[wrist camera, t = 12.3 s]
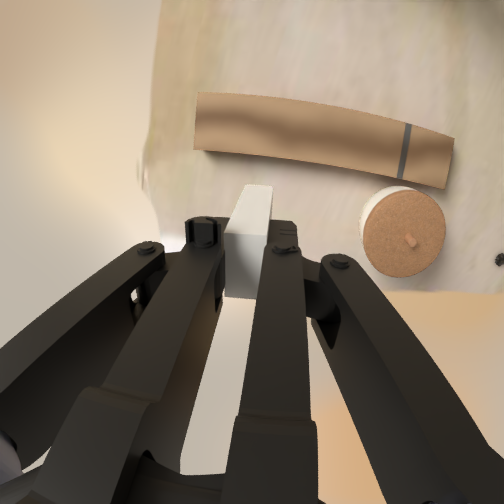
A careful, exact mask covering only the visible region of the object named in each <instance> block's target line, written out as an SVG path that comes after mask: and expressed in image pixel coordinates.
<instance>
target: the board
mask: <svg viewBox="0 0 504 504" xmlns="http://www.w3.org/2000/svg"><path fill="white" fill-rule="evenodd" d="M454 139H455V138H452V137H449V136H446V135H443V134H440V133H437V132H434V131H431V130H428V129H425V128H422V127H418V126H415V125H412V124H408V123H405V122H401V121H397V120H393V119H390V118H386V117H382V116H378V115H373V114H369V113H365V112H360V111H356V110H351V109H346V108H341V107H336V106H330V105H325V104H319V103H313V102H306V101H299V100H292V99H285V98H276V97H267V96H257V95H245V94H231V93H211V92H198V96H197V107H196V120H195V134H194V150H208V151H221V152H233V153H243V154H253V155H262V156H270V157H278V158H286V159H293V160H300V161H307V162H314V163H320V164H326V165H332V166H338V167H344V168H350V169H355V170H360V171H365V172H370V173H375V174H380V175H385V176H390V177H394V178H398V179H403V180H407V181H412V182H416V183H420V184H424V185H428V186H432V187H436V188H440V189H445V184H446V180H447V175H448V171H449V166H450V161H451V156H452V150H453V145H454Z"/></svg>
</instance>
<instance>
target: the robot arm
mask: <svg viewBox="0 0 504 504" xmlns="http://www.w3.org/2000/svg"><path fill="white" fill-rule="evenodd" d="M272 200H273V186H266V185H249V184H246V185H245V187H244V189H243V191H242V193H241V196H240V198H239V200H238V202H237V204H236V207H235V209H234V211H233V213H232V215H231V218H225V217H208V216H200V217H194V218H191V219H188V220H187V221H186V222H185V232H186V244H185V246H184V247H183V249H182V250H181V251H180V252H172V253H165V250H164V246H163V245H162V244H161V243H158V242H152V241H148V242H147V241H145V242H142V243H139V244H137V245H135V246H133V247H131V248H130V249H129V250H127V251H126V252H124V253H123V254H121V255H120V256H118V257H117V258H116V259H114V260H113V261H111V262H110V263H109V264H108V265H106V266H104V267H103V268H102V269H100V270H99V271H98V272H96V273H95V274H93V275H92V276H91V277H89V278H88V279H87V280H85V281H84V282H83V283H81V284H80V285H79V286H77V287H76V288H75V289H73V290H72V291H71V292H69V293H68V294H67V295H65V296H64V297H63V298H62V299H60V300H59V301H58V302H56V303H55V304H54V305H53V306H51V307H50V308H49V309H47V310H46V311H45V312H44V313H42V314H41V315H40V316H39V317H37V318H36V319H35V320H34V321H33V322H31V323H30V324H29V325H28V326H26V327H25V328H24V329H23V330H22V331H20V332H19V333H18V334H17V335H16V336H14V337H13V338H12V339H11V340H10V341H9V342H7V343H6V344H5V345H4V346H3V347H2V348H1V349H0V504H326V503H324V502H323V501H321V500H319V499H318V441H317V440H318V439H317V426H316V423H315V421H312V420H311V410H310V382H309V381H310V379H309V358H308V338H307V322H306V321H307V320H306V317H310V318H311V325H312V327H313V329H314V331H315V333H316V336H317V338H318V340H319V342H320V345H321V347H322V349H323V352H324V354H325V356H326V359H327V361H328V363H329V366H330V368H331V370H332V372H333V375H334V377H335V379H336V382H337V384H338V386H339V389H340V391H341V394H342V396H343V398H344V401H345V403H346V405H347V408H348V410H349V413H350V415H351V417H352V420H353V422H354V425H355V427H356V429H357V432H358V434H359V437H360V439H361V442H362V444H363V446H364V449H365V451H366V453H367V456H368V458H369V461H370V464H371V466H372V469H373V471H374V474H375V476H376V479H377V481H378V484H379V486H380V489H381V491H382V494H383V496H384V498H385V500H386V503H387V504H504V459H503V458H502V457H501V456H500V455H499V454H498V453H497V452H496V451H494V450H493V449H492V448H491V447H490V446H489V445H488V443H487V442H486V440H485V438H484V437H483V435H482V433H481V432H480V430H479V429H478V427H477V425H476V423H475V422H474V420H473V419H472V417H471V416H470V414H469V412H468V411H467V409H466V408H465V406H464V405H463V403H462V402H461V400H460V398H459V397H458V395H457V394H456V392H455V391H454V390H453V388H452V387H451V385H450V383H448V381H447V379H446V378H445V376H444V375H443V373H442V372H441V370H440V369H439V368H438V366H437V365H436V363H435V362H434V360H433V359H432V358H431V356H430V355H429V354H428V352H427V351H426V349H425V348H424V347H423V345H422V344H421V342H420V341H419V340H418V338H417V337H416V336H415V334H414V333H413V332H412V330H411V329H410V328H409V326H408V325H407V324H406V322H405V321H404V320H403V318H402V317H401V316H400V315H399V313H398V312H397V311H396V309H395V308H394V307H393V306H392V304H391V303H390V302H389V301H388V299H387V298H386V297H385V295H384V294H383V293H382V292H381V290H380V289H379V288H378V287H377V285H376V284H375V283H374V282H373V280H372V279H371V278H370V277H369V276H368V274H367V273H366V272H365V271H364V270H363V268H362V267H361V266H360V265H359V264H358V262H357V261H355V260H354V259H353V258H351V257H349V256H347V255H344V254H343V255H342V254H328V255H326V256H324V257H323V258H322V259H321V263H318V262H314V261H311V260H308V259H306V258H304V257H303V256H302V254H301V249H300V248H299V247H298V237H297V226H296V225H295V224H294V223H293V222H292V221H284V220H271V217H272ZM135 289H136V293H137V298H136V299H135V300H134V301H132V298H131V293H132V292H133V290H135ZM224 289H225V297H233V298H245V299H256V306H255V312H254V319H253V325H252V332H251V338H250V345H249V351H248V358H247V364H246V370H245V377H244V382H243V389H242V395H241V401H240V407H239V413H238V416H236V418H235V422H234V427H233V432H232V438H231V444H230V449H229V455H228V461H227V466H226V472H225V474H210V475H182V474H180V457H181V452H182V448H183V444H184V440H185V437H186V433H187V429H188V426H189V422H190V418H191V415H192V411H193V407H194V404H195V400H196V397H197V393H198V389H199V386H200V382H201V379H202V375H203V371H204V368H205V364H206V360H207V357H208V354H209V350H210V347H211V343H212V340H213V336H214V332H215V329H216V326H217V322H218V319H219V315H220V312H221V308H222V304H223V302H222V301H223V299H222V293H223V290H224ZM50 447H51V448H50ZM49 448H50V450H49V452H48V454H47V456H46V458H45V461H44V463H43V465H41V466H39V467H37V468H35V469H33V470H31V471H29V472H26V473H23V472H22V470H23V469H25V468H27V467H28V466H30V465H31V464H32V463H34V462H35V461H36V460H37V459H39V458H40V457H41V456H42V455H43V454H44V453H45V452H46V451H47V450H48V449H49Z"/></svg>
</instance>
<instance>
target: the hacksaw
mask: <svg viewBox="0 0 504 504" xmlns="http://www.w3.org/2000/svg"><path fill="white" fill-rule="evenodd" d="M496 258H497V259H495V260H496V261H495V263H496V264H497V265H498V266H501V265H502V264H504V254H503V253H501V254H499V255H498V256H497V257H496Z"/></svg>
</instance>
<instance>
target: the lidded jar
mask: <svg viewBox="0 0 504 504" xmlns="http://www.w3.org/2000/svg"><path fill="white" fill-rule="evenodd" d="M445 231H446V227H445V219H444V215H443V213H442V210H441V209H440V207H439V206H438V204H437V203H436V202H435V201H434V200H433V199H432V198H430V197H429V196H428V195H426V194H424V193H422V192H419V191H417V190H415V189H412V188H409V187H405V186H390V187H386V188H384V189H381V190H379V191H378V192H376V193H375V194H374V195H373V196H371V197H370V199H369V200H368V201H367V202H366V204H365V206H364V207H363V210H362V212H361V215H360V221H359V233H360V238H361V242H362V245H363V247H364V250H365V253H366V255H367V257H368V259H369V261H370V262H371V264H372V265H373V266H374V267H375V268H376V269H377V270H378V271H379V272H381V273H383V274H385V275H388V276H391V277H408V276H411V275H414V274H417V273H419V272H421V271H422V270H424V269H425V268H426V267H428V266H429V265H430V264H431V263H432V262H433V261H434V260H435V258H436V257H437V255H438V254H439V252H440V250H441V248H442V245H443V243H444V238H445Z"/></svg>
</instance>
